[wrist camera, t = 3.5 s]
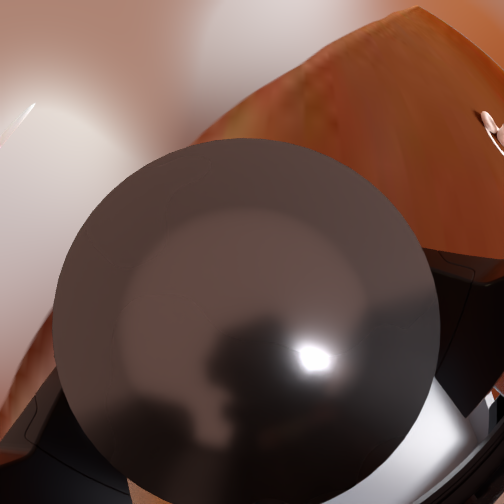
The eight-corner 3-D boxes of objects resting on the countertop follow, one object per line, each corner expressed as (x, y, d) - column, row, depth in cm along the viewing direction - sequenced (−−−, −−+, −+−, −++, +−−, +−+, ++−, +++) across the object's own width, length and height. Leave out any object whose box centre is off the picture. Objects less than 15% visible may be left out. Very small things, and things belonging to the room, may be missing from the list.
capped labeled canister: (286, 344, 15) (481, 347, 2) (227, 385, 14) (208, 557, 1) (245, 287, 15) (292, 98, 3) (187, 326, 15) (13, 262, 2)
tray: (480, 439, 12) (506, 444, 9) (352, 555, 9) (367, 576, 5) (423, 322, 15) (457, 315, 12) (245, 468, 12) (248, 497, 9)
